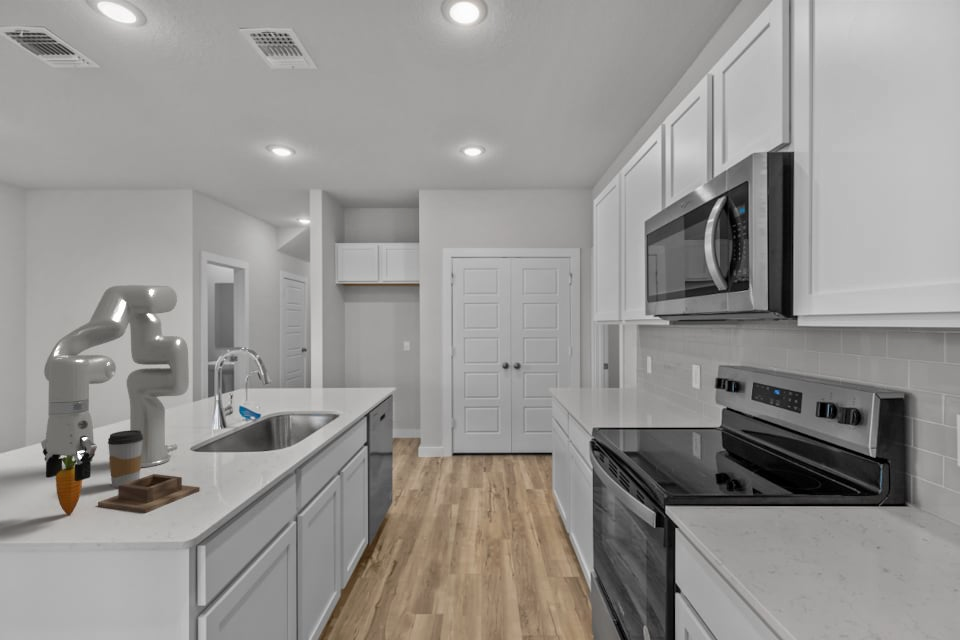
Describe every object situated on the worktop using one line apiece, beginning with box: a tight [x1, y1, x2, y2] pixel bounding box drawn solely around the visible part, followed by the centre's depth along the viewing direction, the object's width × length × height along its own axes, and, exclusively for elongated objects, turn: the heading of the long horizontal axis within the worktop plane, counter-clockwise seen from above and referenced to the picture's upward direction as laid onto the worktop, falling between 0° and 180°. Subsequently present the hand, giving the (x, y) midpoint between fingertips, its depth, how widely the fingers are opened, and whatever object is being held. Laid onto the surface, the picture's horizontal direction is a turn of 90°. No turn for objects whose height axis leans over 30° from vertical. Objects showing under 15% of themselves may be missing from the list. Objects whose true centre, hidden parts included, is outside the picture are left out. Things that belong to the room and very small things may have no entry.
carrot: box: [55, 455, 83, 516], centre depth 117 cm, size 5×5×15 cm
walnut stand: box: [97, 473, 201, 514], centre depth 128 cm, size 16×16×4 cm
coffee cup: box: [107, 430, 143, 489], centre depth 138 cm, size 8×8×15 cm
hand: (68, 477), depth 116 cm, fingers open, 9 cm apart
